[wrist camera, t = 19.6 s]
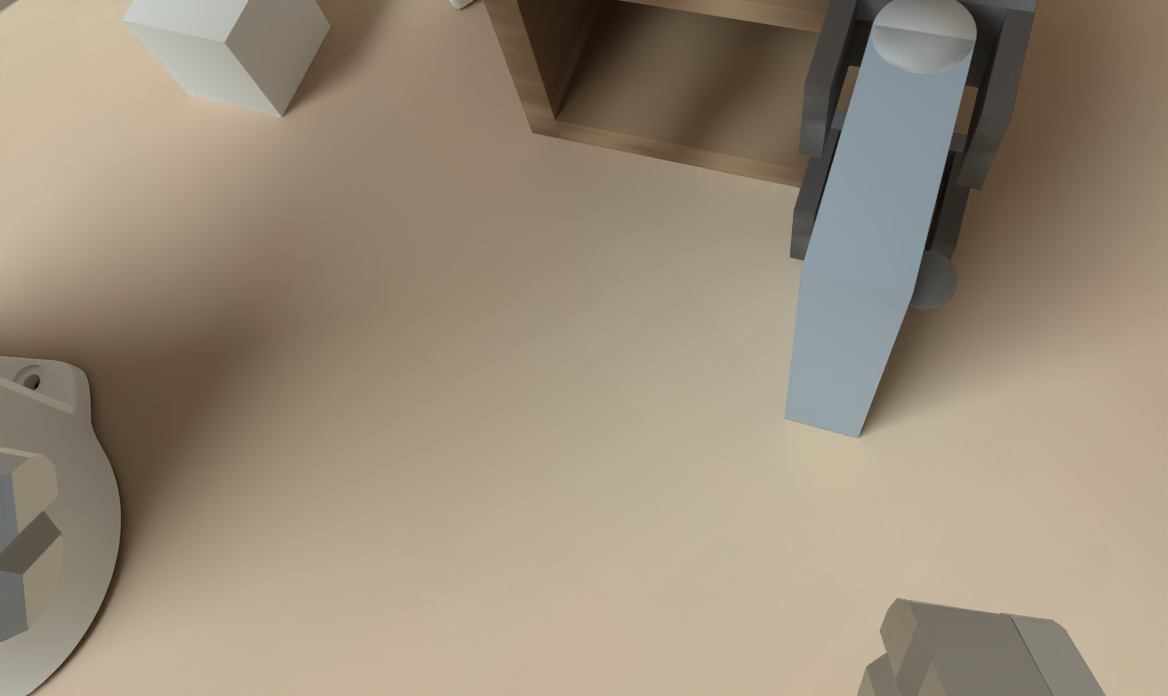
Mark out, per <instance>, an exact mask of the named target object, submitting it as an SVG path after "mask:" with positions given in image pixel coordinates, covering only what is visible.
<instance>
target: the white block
mask: <svg viewBox="0 0 1168 696" xmlns="http://www.w3.org/2000/svg"><path fill="white" fill-rule="evenodd" d="M122 21H123V22H124V23H125V24H126V25H127V26H128V27H129V29H130V30H131V31H132V32H133V33H134V34H135V35H136V36H137V38H138V39H139V40H140V41H141V42H142V43H143V44H144V45H145V46H146V48H147V49H148V50H149V51H150V52H151V53H152V54H153V55H154V57H155V58H156V59H157V60H158V61H159V62H160V63H161V64H162V66H163V67H164V68H165V69H166V70H167V71H168V72H169V73H170V75H171V76H172V77H173V78H174V79H175V80H176V81H177V82H178V83H179V85H180V86H181V87H182V88H183V89H184V90H185V91H186V92H187V94H188V95H192V96H196V97H200V98H204V99H208V100H212V101H216V102H221V103H225V104H229V105H233V106H237V107H241V108H245V109H249V110H253V111H257V112H262V113H266V114H270V115H274V116H278V117H283V115H284V113H285V111H286V109H287V107H288V105H289V104H290V102H291V100H292V98H293V96H294V94H295V92H296V91H297V89H298V87H299V85H300V83H301V81H302V79H303V77H304V76H305V74H306V72H307V70H308V68H309V66H310V64H311V62H312V61H313V59H314V57H315V55H316V53H317V51H318V49H319V47H320V46H321V44H322V42H323V40H324V38H325V36H326V34H327V33H328V31H329V29H330V27H331V26H330V24H329V22H328V21H327V19H326V17H325V16H324V14H323V12H322V11H321V9H320V7H319V6H318V4H317V2H316V1H315V0H134V1H133V2H132V4H131V5H130V7H129V9H128V10H127V12H126V14H125V15H124V17H123V18H122Z"/></svg>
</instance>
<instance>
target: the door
mask: <svg viewBox="0 0 1168 696" xmlns="http://www.w3.org/2000/svg"><path fill="white" fill-rule="evenodd" d="M976 36H977V30H976V24H975V22H974V19H973V17H972V15H971V14H970V12H969V11H968V10H967V9H966V8H965V7H964V6H963V5H962V4H960V3H959V2H957V1H956V0H893V1H891V2H890V3H888V4H887V5H886V6H885V7H884V8H883V9H882V10H881V11H880V12H879V13H878V15H877V16H876V18H875V20H874V23H873V26H872V29H871V32H870V36H869V39H868V43H867V46H866V50H865V53H864V57H863V60H862V63H861V67H860V70H859V74H858V77H857V81H856V84H855V87H854V91H853V94H852V98H851V101H850V105H849V108H848V111H847V115H846V118H845V122H844V125H843V129H842V132H841V136H840V139H839V142H838V146H837V149H836V153H835V156H834V160H833V163H832V166H831V170H830V173H829V177H828V180H827V184H826V187H825V190H824V194H823V197H822V201H821V204H820V208H819V211H818V215H817V218H816V221H815V225H814V228H813V232H812V235H811V239H810V242H809V245H808V249H807V252H806V256H805V259H804V263H803V266H802V270H801V279H800V288H799V297H798V305H797V314H796V323H795V332H794V341H793V350H792V358H791V367H790V376H789V385H788V394H787V402H786V411H785V419H788V420H792V421H796V422H799V423H803V424H807V425H810V426H814V427H818V428H821V429H825V430H829V431H833V432H836V433H840V434H844V435H847V436H851V437H855V438H858V437H859V435H860V432H861V429H862V427H863V424H864V421H865V419H866V416H867V414H868V411H869V408H870V406H871V403H872V400H873V398H874V395H875V392H876V390H877V387H878V385H879V382H880V379H881V377H882V374H883V371H884V369H885V366H886V363H887V361H888V358H889V355H890V353H891V350H892V348H893V345H894V342H895V340H896V337H897V334H898V332H899V329H900V326H901V324H902V321H903V318H904V316H905V313H906V311H907V308H908V306H910V307H912V308H914V309H918V310H931V309H935V308H938V307H940V306H942V305H943V304H945V303H946V302H947V301H948V300H949V299H950V298H951V296H952V295H953V293H954V291H955V288H956V285H957V275H956V271H955V268H954V266H953V264H952V263H951V262H950V261H949V260H948V259H947V258H946V257H945V256H943V255H942V254H940V253H937V252H934V251H924V247H925V243H926V239H927V235H928V231H929V226H930V222H931V218H932V214H933V210H934V206H935V202H936V198H937V194H938V190H939V186H940V182H941V178H942V174H943V170H944V166H945V162H946V158H947V154H948V150H949V146H950V142H951V138H952V134H953V130H954V126H955V122H956V118H957V114H958V110H959V106H960V102H961V98H962V94H963V90H964V86H965V82H966V78H967V74H968V70H969V66H970V62H971V58H972V54H973V50H974V46H975V42H976Z"/></svg>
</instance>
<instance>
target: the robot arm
mask: <svg viewBox="0 0 1168 696" xmlns="http://www.w3.org/2000/svg"><path fill="white" fill-rule="evenodd" d="M39 381H40V384H39V386H38V387H37V388H36V389H35V390H34V387H35V385H36V384H37V383H38V382H39ZM120 532H121V507H120V497H119V492H118V487H117V483H116V479H115V475H114V473H113V470H112V467H111V465H110V462H109V460H108V458H107V456H106V454H105V452H104V451H103V449H102V447H101V445H100V443H99V441H98V440H97V438H96V435H95V433H94V431H93V428H92V424H91V402H90V389H89V383H88V379H87V376H86V374H85V373H84V372H83V370H81V369H80V368H78V367H76V366H73V365H71V364H68V363H65V362H62V361H55V360H43V359H31V358H19V357H7V356H0V696H26V695H28V694H29V693H31V692H32V691H33V690H34V689H36V688H37V687H38V686H39V685H40V684H42V683H43V682H44V681H45V680H46V679H47V678H48V677H49V676H50V675H51V674H52V673H53V672H54V671H55V670H56V669H57V668H58V667H59V666H60V665H61V664H62V663H63V662H64V660H65V659H66V658H67V657H68V656H69V655H70V653H71V652H72V651H73V649H74V648H75V647H76V645H77V644H78V643H79V641H80V640H81V638H82V637H83V635H84V634H85V632H86V631H87V629H88V628H89V626H90V624H91V622H92V621H93V619H94V617H95V615H96V613H97V611H98V609H99V608H100V605H101V603H102V601H103V599H104V596H105V594H106V591H107V589H108V586H109V584H110V580H111V577H112V574H113V571H114V567H115V563H116V559H117V554H118V549H119V541H120ZM880 633H881V636H882V639H883V642H884V646H885V649H886V652H887V653H885V654H884V655H882V656H881V657H879V658H878V659H876V660H875V661H874V662H872V663H871V664H869V665H868V666H866V669H865V673H864V676H863V679H862V682H861V685H860V688H859V691H858V695H857V696H1106V695H1105V694H1104V692H1103V690H1102V689H1101V687H1100V685H1099V684H1098V682H1097V681H1096V679H1095V677H1094V676H1093V674H1092V672H1091V671H1090V669H1089V667H1088V666H1087V664H1086V662H1085V661H1084V659H1083V658H1082V656H1081V654H1080V653H1079V651H1078V649H1077V648H1076V646H1075V644H1074V643H1073V641H1072V640H1071V638H1070V636H1069V635H1068V633H1067V631H1066V630H1065V629H1064V628H1063V627H1062V626H1061V625H1059V624H1058V623H1056V622H1055V621H1054V620H1050V619H1043V618H1035V617H1028V616H1021V615H1013V614H1006V613H1000V614H995V613H989V612H983V611H976V610H970V609H964V608H957V607H951V606H944V605H938V604H932V603H925V602H919V601H912V600H906V599H900V598H897V599H896V600H895V601H894V603H893V604H892V605H891V606H890V608H889V609H888V610H887V613H886V616H885V618H884V621H883V623H882V626H881V629H880Z"/></svg>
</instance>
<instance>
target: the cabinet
mask: <svg viewBox="0 0 1168 696" xmlns="http://www.w3.org/2000/svg"><path fill="white" fill-rule="evenodd" d="M891 1H893V0H484V2H485V5H486V8H487V10H488V13H489V16H490V19H491V21H492V24H493V27H494V29H495V32H496V35H497V38H498V40H499V43H500V46H501V48H502V51H503V54H504V57H505V59H506V62H507V65H508V68H509V70H510V73H511V76H512V78H513V81H514V84H515V87H516V89H517V92H518V95H519V97H520V100H521V103H522V106H523V108H524V111H525V114H526V116H527V119H528V122H529V125H530V127H531V130H532V132H533V133H537V134H542V135H547V136H552V137H557V138H562V139H567V140H571V141H576V142H581V143H586V144H591V145H596V146H601V147H605V148H610V149H615V150H620V151H625V152H630V153H635V154H640V155H644V156H649V157H654V158H659V159H664V160H669V161H674V162H678V163H683V164H688V165H693V166H698V167H703V168H708V169H712V170H717V171H722V172H727V173H732V174H737V175H742V176H746V177H751V178H756V179H761V180H766V181H771V182H776V183H780V184H785V185H790V186H795V187H800V188H801V189H800V192H799V195H798V199H797V202H796V205H795V208H794V214H793V226H792V238H791V250H790V257H791V258H796V259H800V260H804V259H805V256H806V252H807V249H808V245H809V242H810V239H811V235H812V232H813V228H814V225H815V221H816V218H817V215H818V211H819V208H820V204H821V201H822V197H823V194H824V190H825V187H826V184H827V180H828V177H829V173H830V170H831V166H832V163H833V160H834V156H835V153H836V149H837V146H838V142H839V139H840V136H841V132H842V129H843V125H844V122H845V118H846V115H847V111H848V108H849V105H850V101H851V98H852V94H853V91H854V87H855V84H856V81H857V77H858V74H859V70H860V67H861V63H862V60H863V57H864V53H865V50H866V46H867V43H868V39H869V36H870V32H871V29H872V26H873V23H874V20H875V18H876V16H877V15H878V13H879V12H880V11H881V10H882V9H883V8H884V7H885V6H886V5H887V4H888V3H890V2H891ZM956 1H957V2H959V3H960V4H962V5H963V6H964V7H965V8H966V9H967V10H968V11H969V12H970V14H971V15H972V17H973V19H974V22H975V24H976V30H977V36H976V42H975V46H974V50H973V54H972V58H971V62H970V66H969V70H968V74H967V78H966V82H965V85H966V86H972V87H978V88H979V89H978V93H977V97H976V101H975V106H974V110H973V114H972V118H971V122H970V126H969V130H968V134H967V135H962V134H957V133H953V134H952V138H951V142H950V146H949V150H948V154H947V158H946V162H945V166H944V170H943V174H942V178H941V182H940V186H939V190H938V194H937V198H936V202H935V203H937V206H936V210H935V215H934V219H933V223H932V227H931V231H930V235H929V239H928V243H927V247H926V251H934V252H937V253H940V254H942V255H943V256H945V257H946V258H947V259H948V260H949V261H950V258H951V256H952V254H953V251H954V249H955V247H956V244H957V239H958V235H959V231H960V227H961V223H962V218H963V214H964V210H965V206H966V202H967V197H968V193H969V189H970V188H974V189H979V190H980V189H981V186H982V184H983V182H984V179H985V177H986V175H987V172H988V170H989V168H990V165H991V163H992V161H993V158H994V156H995V154H996V151H997V149H998V147H999V144H1000V142H1001V140H1002V137H1003V135H1004V133H1005V130H1006V128H1007V126H1008V124H1009V121H1010V118H1011V114H1012V109H1013V105H1014V101H1015V96H1016V92H1017V88H1018V83H1019V79H1020V74H1021V70H1022V66H1023V61H1024V57H1025V53H1026V48H1027V44H1028V39H1029V35H1030V31H1031V26H1032V22H1033V18H1034V13H1035V9H1036V4H1037V0H956Z"/></svg>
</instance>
